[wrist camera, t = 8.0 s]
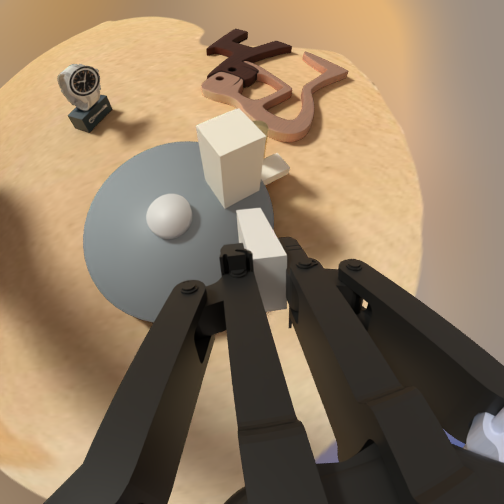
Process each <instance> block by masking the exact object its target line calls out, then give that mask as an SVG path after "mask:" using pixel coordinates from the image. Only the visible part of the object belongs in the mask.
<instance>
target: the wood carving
mask: <svg viewBox="0 0 504 504" xmlns="http://www.w3.org/2000/svg"><path fill="white" fill-rule="evenodd" d="M247 38H248V32H247V31H243V30H239V29H235V30H232V31H231V32H229V33H228V34H227V35H225V36H223V37H222V38H220V39H219V40H218V41H216V42H215V43H213V44H212V45H211V46H209V47H208V48H207V56H208V55H211V54H220V55H224V56H227V57H229V58H227V59H226V60H225V61H223V62H222V63H221V64H220V65H219V66H217V67H216V68H215V69H214V70H213V71H211V72H210V73H209V75H208V76H207V80H205V81H204V82H203V83H202V85H201V88H202V95H203V96H204V97H206V98H208V99H211V100H213V101H216V102H221V103H226V104H229V105H232V106H234V107H235V108H237V109H238V108H239V109H240V110H241V111H242V112H243V113H244V114H245V115H246V116H247V117H248V118H249V119H250V120H251V121H256V120H259V121H263V122H265V123H266V124H267V125H268V135H267V137H269V138H272V139H274V140H277V141H282V142H294V141H297V140H300V139H301V138H303V137H304V136H305V135H306V134H307V133H308V131H309V129H310V127H311V123H312V120H313V116H314V101H313V97H312V94H313V93H314V92H316V91H317V90H319V89H320V88H322V87H324V86H327V85H329V84H332V83H335V82H337V81H340V80H342V79H344V78H346V77H347V74H348V70H346V69H344V68H342V67H340V66H338V65H335V64H333V63H331V62H329V61H327V60H325V59H322V58H320V57H318V56H316V55H313V54H311V53H308V52H304V55H303V61H304V62H306V63H307V64H308V65H310V66H311V67H312V68H314V69H315V70H317V71H318V72H320V73H322V75H320V76H319V77H317V78H316V79H314V80H312V81H311V82H309V83H307V84H306V85H304V87H303V90H302V94H301V100H302V110H301V112H300V113H299V115H298V117H297V118H295V119H293V120H286V119H282V118H279V117H277V116H275V115H273V114H271V113H270V112H268V111H267V110H268V109H270V108H272V107H273V106H275V105H277V104H279V103H281V102H283V101H285V100H287V99H289V98H290V97H291V94H292V88H291V87H290V86H289V85H287V84H286V83H284V82H283V81H282V80H280V79H279V78H277V77H276V76H274V75H272V74H271V73H269V72H268V71H266V70H265V69H263V68H261V67H260V66H258V65H256V64H253V63H254V62H257V61H259V60H263V59H266V58H269V57H273V56H276V55H280V54H285V53H291V49H292V46H290V45H287V44H284V43H282V42H279V41H274V42H270V43H267V44H264V45H261V46H257V47H249V46H246V45H242V44H239V43H241V42H243V41H245V40H247ZM256 80H257V81H260V82H264V83H267V84H268V85H270V86H272V87H273V88H275V89H276V90H277V92H275V93H273V94H271V95H269V96H267V97H264V98H262V99H258V100H252V99H249V98H247V97H244V96H243V95H241V93H242V91H243V87H244V88H245V87H249V86H251V85H252V84H253V83H254V82H255V81H256Z"/></svg>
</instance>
